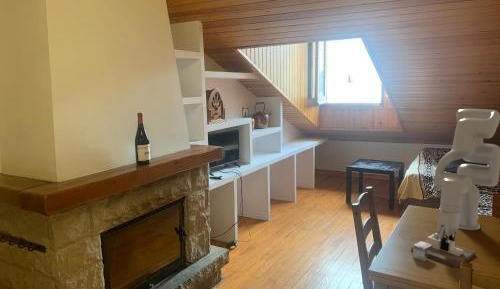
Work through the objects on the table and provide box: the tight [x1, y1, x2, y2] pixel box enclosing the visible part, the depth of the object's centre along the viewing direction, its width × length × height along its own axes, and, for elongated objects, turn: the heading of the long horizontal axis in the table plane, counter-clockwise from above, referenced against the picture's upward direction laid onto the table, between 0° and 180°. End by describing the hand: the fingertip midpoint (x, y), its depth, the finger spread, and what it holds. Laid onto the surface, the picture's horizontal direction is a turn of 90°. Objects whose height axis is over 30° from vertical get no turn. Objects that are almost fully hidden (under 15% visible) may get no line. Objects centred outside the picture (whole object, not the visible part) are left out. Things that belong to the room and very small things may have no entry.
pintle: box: [433, 232, 439, 240], centre depth 165 cm, size 2×2×6 cm
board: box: [410, 239, 477, 268], centre depth 163 cm, size 17×19×2 cm
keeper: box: [412, 240, 433, 262], centre depth 159 cm, size 6×5×6 cm
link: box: [426, 233, 463, 256], centre depth 162 cm, size 13×5×4 cm, turn 37°
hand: (447, 248), depth 162 cm, fingers closed on link, 4 cm apart
